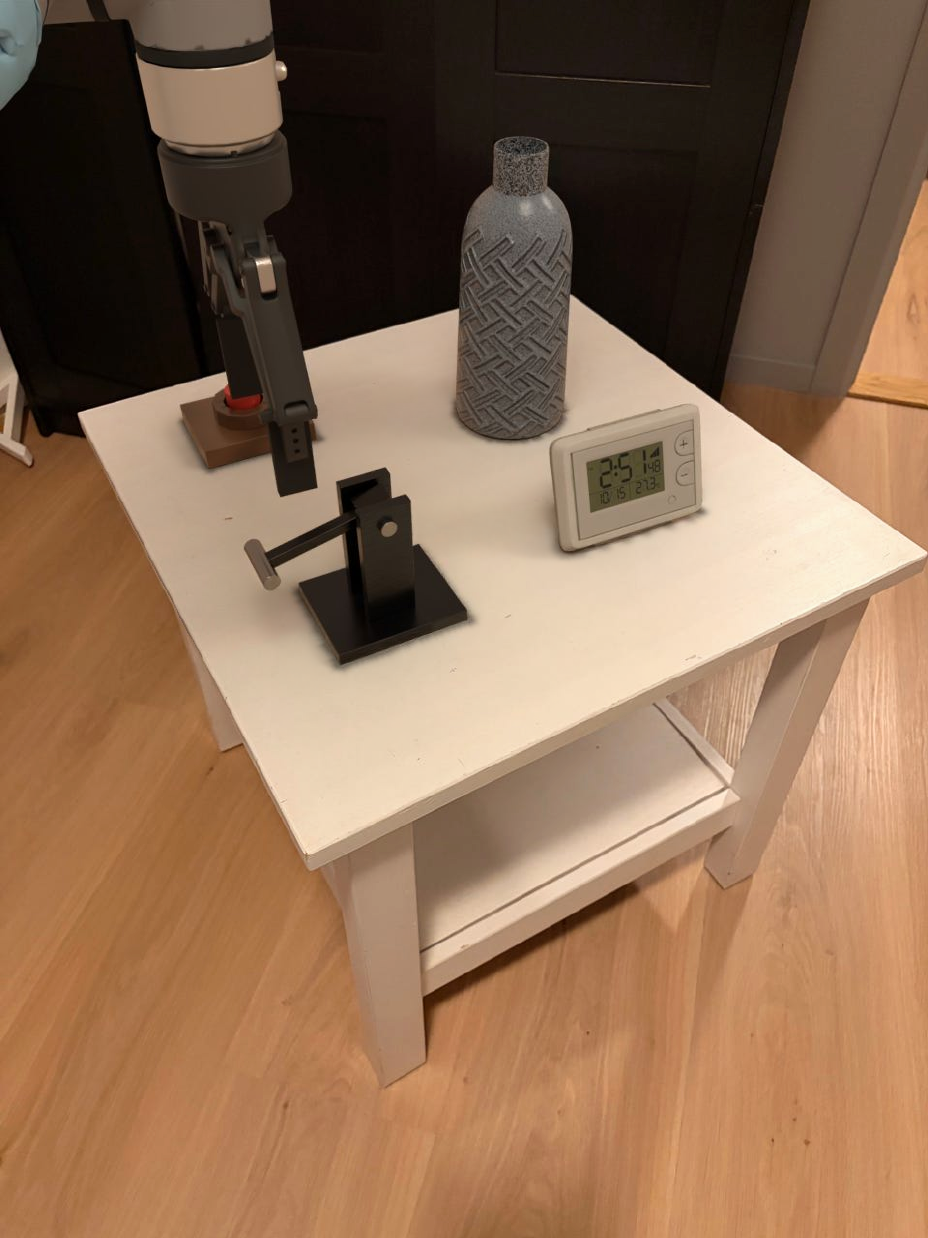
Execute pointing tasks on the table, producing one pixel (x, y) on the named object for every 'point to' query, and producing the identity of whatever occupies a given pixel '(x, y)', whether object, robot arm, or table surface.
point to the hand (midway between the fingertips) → (271, 439)
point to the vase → (514, 298)
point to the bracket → (379, 579)
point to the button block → (227, 430)
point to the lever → (307, 539)
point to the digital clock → (626, 476)
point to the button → (241, 401)
